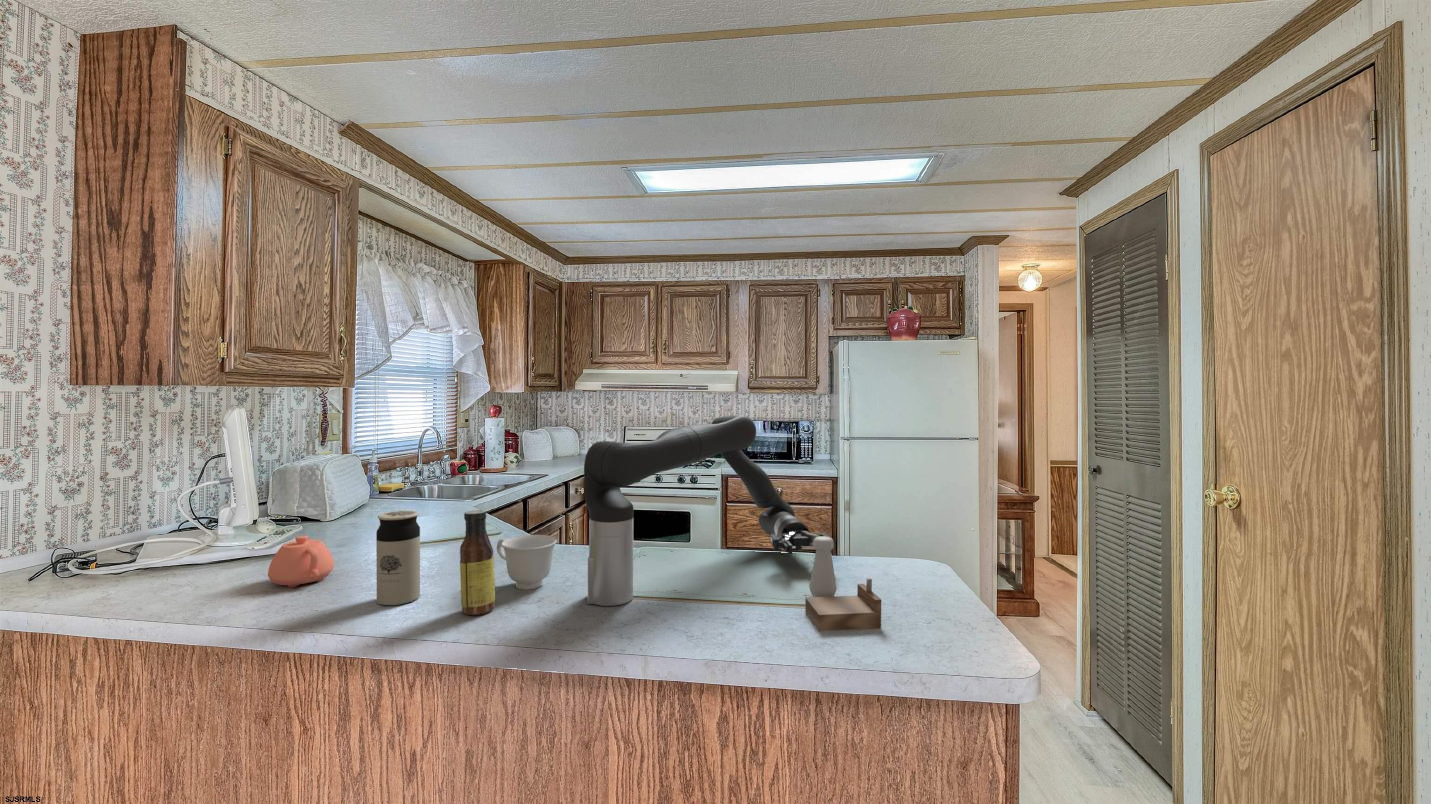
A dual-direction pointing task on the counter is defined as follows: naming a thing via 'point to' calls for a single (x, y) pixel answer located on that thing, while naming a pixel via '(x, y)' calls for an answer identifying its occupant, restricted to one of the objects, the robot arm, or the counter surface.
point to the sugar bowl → (300, 562)
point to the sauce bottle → (476, 566)
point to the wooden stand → (846, 610)
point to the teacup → (527, 558)
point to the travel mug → (398, 558)
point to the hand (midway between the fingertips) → (808, 549)
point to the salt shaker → (823, 569)
